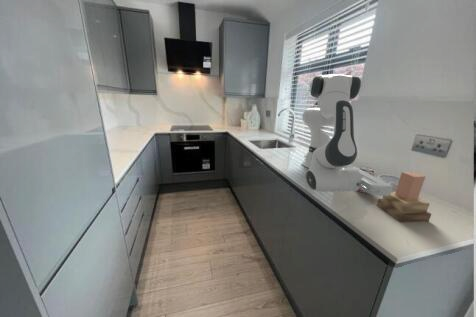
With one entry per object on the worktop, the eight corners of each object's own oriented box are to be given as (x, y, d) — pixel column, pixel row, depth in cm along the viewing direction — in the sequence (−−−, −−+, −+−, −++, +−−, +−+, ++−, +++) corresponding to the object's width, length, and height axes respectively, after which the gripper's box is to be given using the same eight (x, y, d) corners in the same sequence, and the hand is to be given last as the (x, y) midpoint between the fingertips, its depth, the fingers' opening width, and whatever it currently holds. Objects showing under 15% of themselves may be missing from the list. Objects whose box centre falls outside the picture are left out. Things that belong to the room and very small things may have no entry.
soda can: (372, 194, 96) (378, 171, 93) (356, 192, 97) (362, 170, 94) (366, 188, 103) (371, 166, 99) (351, 186, 104) (356, 165, 100)
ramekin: (408, 201, 91) (412, 187, 89) (374, 192, 98) (377, 180, 96) (404, 190, 101) (408, 178, 99) (374, 184, 108) (377, 172, 106)
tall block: (395, 194, 80) (401, 172, 77) (405, 193, 81) (412, 171, 78) (406, 200, 76) (414, 177, 73) (417, 199, 77) (425, 176, 74)
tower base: (376, 206, 86) (378, 198, 85) (401, 206, 87) (403, 198, 86) (399, 223, 75) (402, 214, 74) (428, 222, 76) (431, 213, 75)
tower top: (382, 200, 84) (384, 191, 83) (403, 199, 85) (405, 191, 84) (403, 213, 74) (406, 204, 73) (426, 212, 75) (429, 203, 74)
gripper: (371, 183, 64) (409, 183, 65) (335, 163, 83) (365, 163, 84) (367, 200, 65) (404, 199, 67) (333, 176, 85) (362, 176, 86)
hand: (382, 179), depth 76 cm, fingers open, 8 cm apart
